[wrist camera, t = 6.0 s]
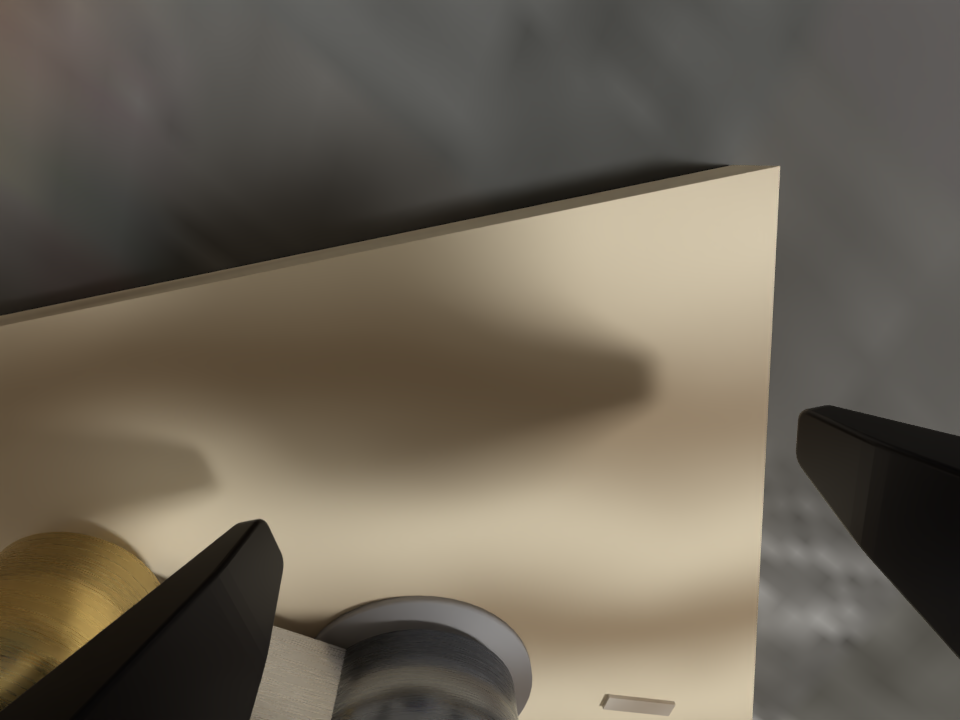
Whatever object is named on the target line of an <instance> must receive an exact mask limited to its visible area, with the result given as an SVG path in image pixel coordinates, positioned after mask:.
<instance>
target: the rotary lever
mask: <svg viewBox="0 0 960 720" xmlns="http://www.w3.org/2000/svg"><path fill="white" fill-rule="evenodd" d="M159 585H160V583H159V581H158V579H157V578H156V576H155V575H154V574H153V572H152V571H151V570H150V569H149V568H148V567H147V566H146V565H145V564H144V563H143V562H142V561H141V560H139V559H138V558H137V557H136V556H134V555H133V554H131V553H130V552H128V551H126V550H125V549H123V548H121V547H119V546H117V545H115V544H113V543H110V542H108V541H105V540H103V539H100V538H96V537H93V536H89V535H84V534H79V533H71V532H46V533H39V534H34V535H30V536H27V537H24V538H21V539H19V540H17V541H15V542H13V543H11V544H10V545H8V546H7V547H6V548H4V549H3V550H2V551H1V552H0V711H1V710H3V709H4V708H5V707H6V706H8V705H9V704H10V703H12V702H13V701H14V700H15V699H17V698H18V697H19V696H20V695H22V694H23V693H24V692H25V691H27V690H28V689H29V688H30V687H32V686H33V685H34V684H35V683H37V682H38V681H39V680H40V679H42V678H43V677H44V676H45V675H47V674H48V673H49V672H50V671H52V670H53V669H54V668H56V667H57V666H58V665H59V664H61V663H62V662H63V661H64V660H66V659H67V658H68V657H69V656H71V655H72V654H73V653H74V652H76V651H77V650H78V649H79V648H81V647H82V646H83V645H84V644H86V643H87V642H88V641H89V640H91V639H92V638H93V637H95V636H96V635H97V634H98V633H100V632H101V631H102V630H103V629H105V628H106V627H107V626H108V625H110V624H111V623H112V622H113V621H115V620H116V619H117V618H118V617H120V616H121V615H122V614H123V613H125V612H126V611H127V610H128V609H130V608H131V607H132V606H133V605H135V604H136V603H137V602H139V601H140V600H141V599H142V598H144V597H145V596H146V595H147V594H149V593H150V592H151V591H152V590H154V589H155V588H156V587H157V586H159ZM250 720H518V712H517V704H516V696H515V688H514V683H513V679H512V676H511V674H510V672H509V669H508V668H507V667H506V665H505V664H504V662H503V661H502V660H501V659H500V658H499V657H498V656H497V655H496V654H495V653H494V652H492V651H491V650H490V649H488V648H487V647H485V646H484V645H482V644H480V643H478V642H476V641H474V640H472V639H469V638H467V637H464V636H461V635H457V634H454V633H449V632H444V631H438V630H427V629H410V630H399V631H393V632H388V633H383V634H380V635H376V636H373V637H370V638H367V639H365V640H362V641H360V642H358V643H356V644H354V645H352V646H350V647H348V648H347V649H344V648H340V647H337V646H334V645H331V644H328V643H325V642H322V641H319V640H316V639H313V638H310V637H307V636H304V635H301V634H298V633H295V632H292V631H289V630H285V629H282V628H279V627H276V626H273V629H272V635H271V640H270V646H269V650H268V655H267V660H266V664H265V668H264V672H263V675H262V679H261V683H260V686H259V689H258V693H257V696H256V700H255V703H254V707H253V710H252V714H251V717H250Z"/></svg>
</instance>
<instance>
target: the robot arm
mask: <svg viewBox="0 0 960 720" xmlns="http://www.w3.org/2000/svg"><path fill="white" fill-rule="evenodd" d="M796 456H797V460H798V462H799V464H800V466H801V468H802V469H803V471H804V472H805V473H806V475H807V476H808V478H809V479H810V480H811V482H812V483H813V484H814V486H815V487H816V488H817V490H818V491H819V493H820V494H821V495H822V497H823V498H824V499H825V501H826V502H827V503H828V505H829V506H830V507H831V509H832V510H833V512H834V513H835V514H836V516H837V517H838V518H839V520H840V521H841V522H842V524H843V525H844V527H845V528H846V529H847V531H848V532H849V533H850V535H851V536H852V537H853V538H854V540H855V541H856V542H857V544H858V545H859V546H860V547H861V549H862V550H863V551H864V552H865V553H866V554H867V556H868V557H869V558H870V559H871V560H872V561H873V563H874V564H875V565H876V566H877V567H878V568H879V569H880V570H881V571H882V573H883V574H884V575H885V576H886V577H887V578H888V579H889V580H890V582H891V583H892V584H893V585H894V586H895V587H896V588H897V589H898V591H899V592H900V593H901V594H902V595H903V596H904V597H905V598H906V600H907V601H908V602H909V603H910V604H911V605H912V606H913V607H914V608H915V610H916V611H917V612H918V613H919V614H920V615H921V616H922V617H923V619H924V620H925V621H926V622H927V623H928V624H929V625H930V626H931V628H932V629H933V630H934V631H935V632H936V633H937V634H938V635H939V636H940V638H941V639H942V640H943V641H944V642H945V643H946V644H947V645H948V647H949V648H950V649H951V650H952V651H953V652H954V653H955V654H956V656H957V657H958V658H959V659H960V436H956V435H952V434H948V433H944V432H939V431H935V430H931V429H927V428H923V427H919V426H914V425H910V424H906V423H902V422H898V421H894V420H889V419H885V418H881V417H877V416H873V415H869V414H864V413H860V412H856V411H852V410H848V409H844V408H840V407H835V406H830V405H825V406H820V407H815V408H810V409H806V410H804V411H802V412H801V413H800V415H799V418H798V430H797V444H796ZM283 568H284V562H283V556H282V553H281V551H280V549H279V547H278V545H277V542H276V540H275V538H274V536H273V534H272V532H271V530H270V528H269V526H268V524H267V522H266V521H264V520H263V519H255V520H250V521H244V522H240V523H237V524H236V525H234V526H233V527H232V528H230V529H229V530H228V531H227V532H225V533H224V534H223V535H222V536H220V537H219V538H218V539H216V540H215V541H214V542H213V543H211V544H210V545H209V546H208V547H206V548H205V549H204V550H203V551H201V552H200V553H199V554H198V555H196V556H195V557H194V558H193V559H191V560H190V561H189V562H188V563H186V564H185V565H184V566H183V567H181V568H180V569H179V570H178V571H176V572H175V573H174V574H172V575H171V576H170V577H169V578H167V579H166V580H165V581H164V582H162V583H161V584H160V585H159V586H157V587H156V588H155V589H154V590H152V591H151V592H150V593H149V594H147V595H146V596H145V597H144V598H142V599H141V600H140V601H139V602H137V603H136V604H135V605H133V606H132V607H131V608H130V609H128V610H127V611H126V612H125V613H123V614H122V615H121V616H120V617H118V618H117V619H116V620H115V621H113V622H112V623H111V624H110V625H108V626H107V627H106V628H105V629H103V630H102V631H101V632H100V633H98V634H97V635H96V636H95V637H93V638H92V639H91V640H89V641H88V642H87V643H86V644H84V645H83V646H82V647H81V648H79V649H78V650H77V651H76V652H74V653H73V654H72V655H71V656H69V657H68V658H67V659H66V660H64V661H63V662H62V663H61V664H59V665H58V666H57V667H56V668H54V669H53V670H52V671H50V672H49V673H48V674H47V675H45V676H44V677H43V678H42V679H40V680H39V681H38V682H37V683H35V684H34V685H33V686H32V687H30V688H29V689H28V690H27V691H25V692H24V693H23V694H22V695H20V696H19V697H18V698H17V699H15V700H14V701H13V702H12V703H10V704H9V705H8V706H6V707H5V708H4V709H3V710H1V711H0V720H250V717H251V714H252V710H253V707H254V703H255V700H256V696H257V693H258V689H259V686H260V683H261V679H262V675H263V672H264V668H265V664H266V660H267V655H268V650H269V646H270V640H271V635H272V629H273V624H274V618H275V613H276V607H277V602H278V596H279V591H280V585H281V580H282V574H283Z"/></svg>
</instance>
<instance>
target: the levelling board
mask: <svg viewBox="0 0 960 720" xmlns="http://www.w3.org/2000/svg"><path fill="white" fill-rule="evenodd" d="M779 178H780V166H755V165H730V166H725V167H720V168H716V169H711V170H706V171H701V172H696V173H691V174H686V175H682V176H677V177H672V178H667V179H662V180H657V181H653V182H648V183H643V184H638V185H633V186H628V187H623V188H619V189H614V190H609V191H604V192H599V193H594V194H589V195H585V196H580V197H575V198H570V199H565V200H560V201H555V202H551V203H546V204H541V205H536V206H531V207H526V208H521V209H517V210H512V211H507V212H502V213H497V214H492V215H487V216H483V217H478V218H473V219H468V220H463V221H458V222H453V223H449V224H444V225H439V226H434V227H429V228H424V229H419V230H415V231H410V232H405V233H400V234H395V235H390V236H385V237H381V238H376V239H371V240H366V241H361V242H356V243H351V244H347V245H342V246H337V247H332V248H327V249H322V250H317V251H313V252H308V253H303V254H298V255H293V256H288V257H283V258H279V259H274V260H269V261H264V262H259V263H254V264H249V265H245V266H240V267H235V268H230V269H225V270H220V271H216V272H211V273H206V274H201V275H196V276H191V277H186V278H182V279H177V280H172V281H167V282H162V283H157V284H152V285H148V286H143V287H138V288H133V289H128V290H123V291H118V292H114V293H109V294H104V295H99V296H94V297H89V298H84V299H80V300H75V301H70V302H65V303H60V304H55V305H50V306H46V307H41V308H36V309H31V310H26V311H21V312H16V313H12V314H7V315H2V316H0V552H1V551H2V550H3V549H4V548H6V547H7V546H8V545H10V544H11V543H13V542H15V541H17V540H19V539H21V538H24V537H27V536H30V535H34V534H39V533H46V532H71V533H79V534H84V535H89V536H93V537H96V538H100V539H103V540H105V541H108V542H110V543H113V544H115V545H117V546H119V547H121V548H123V549H125V550H126V551H128V552H130V553H131V554H133V555H134V556H136V557H137V558H138V559H139V560H141V561H142V562H143V563H144V564H145V565H146V566H147V567H148V568H149V569H150V570H151V571H152V572H153V574H154V575H155V576H156V578H157V579H158V581H159V583H160V584H161V583H162V582H164V581H165V580H166V579H167V578H169V577H170V576H171V575H172V574H174V573H175V572H176V571H178V570H179V569H180V568H181V567H183V566H184V565H185V564H186V563H188V562H189V561H190V560H191V559H193V558H194V557H195V556H196V555H198V554H199V553H200V552H201V551H203V550H204V549H205V548H206V547H208V546H209V545H210V544H211V543H213V542H214V541H215V540H216V539H218V538H219V537H220V536H222V535H223V534H224V533H225V532H227V531H228V530H229V529H230V528H232V527H233V526H234V525H236V524H237V523H240V522H244V521H250V520H255V519H263V520H264V521H266V522H267V524H268V526H269V528H270V530H271V532H272V534H273V536H274V538H275V540H276V542H277V545H278V547H279V549H280V551H281V553H282V556H283V562H284V568H283V574H282V580H281V585H280V591H279V596H278V602H277V607H276V613H275V618H274V624H273V626H276V627H279V628H282V629H285V630H289V631H292V632H295V633H298V634H301V635H304V636H307V637H310V638H313V639H316V640H319V641H322V642H325V643H328V644H331V645H334V646H337V647H340V648H344V649H347V648H348V647H350V646H352V645H354V644H356V643H358V642H360V641H362V640H365V639H367V638H370V637H373V636H376V635H380V634H383V633H388V632H393V631H399V630H410V629H427V630H438V631H444V632H449V633H454V634H457V635H461V636H464V637H467V638H469V639H472V640H474V641H476V642H478V643H480V644H482V645H484V646H485V647H487V648H488V649H490V650H491V651H492V652H494V653H495V654H496V655H497V656H498V657H499V658H500V659H501V660H502V661H503V662H504V664H505V665H506V667H507V668H508V669H509V672H510V674H511V676H512V679H513V683H514V688H515V696H516V704H517V712H518V720H752V713H753V693H754V674H755V654H756V634H757V614H758V594H759V574H760V555H761V535H762V515H763V495H764V475H765V455H766V435H767V416H768V396H769V376H770V356H771V336H772V316H773V297H774V277H775V257H776V237H777V217H778V197H779Z"/></svg>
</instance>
